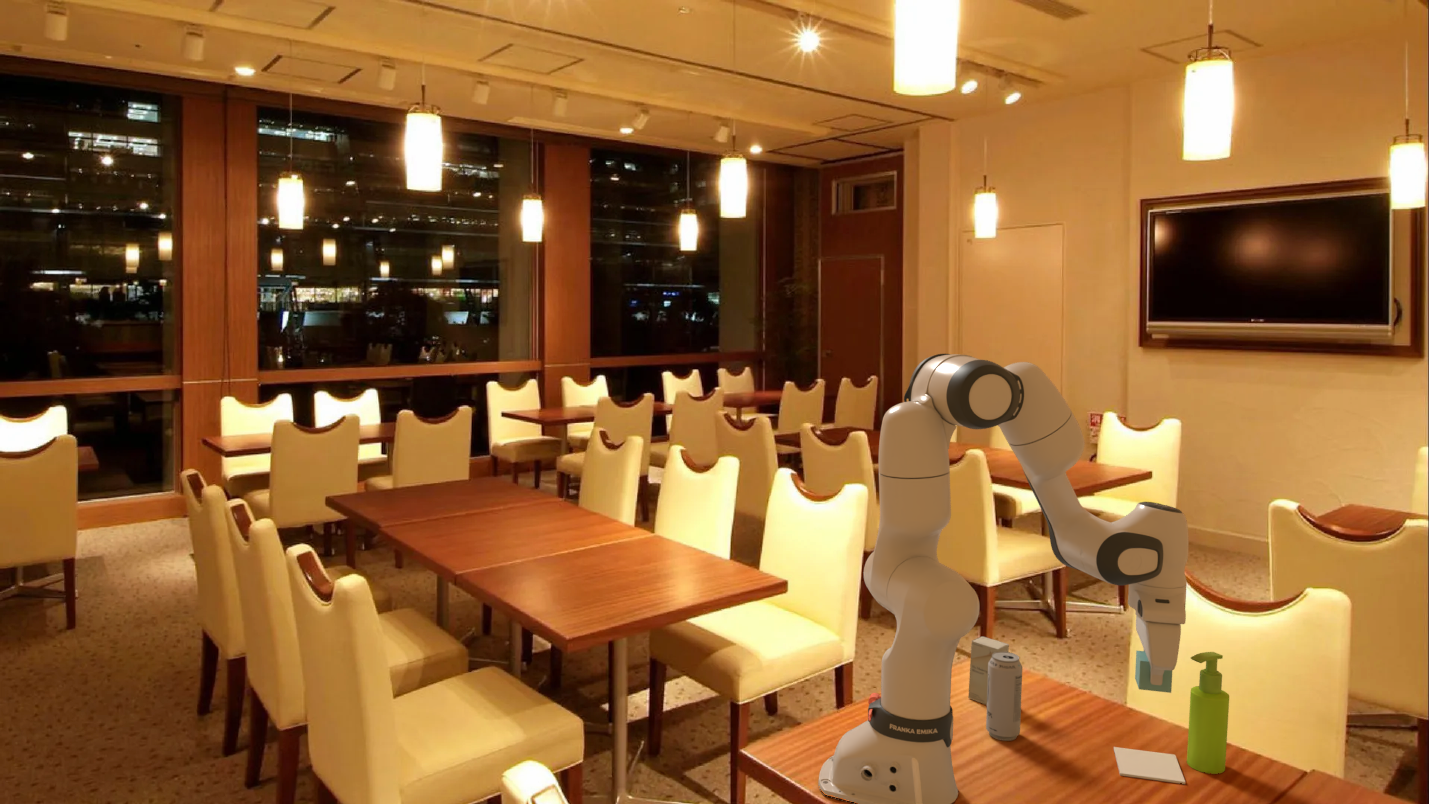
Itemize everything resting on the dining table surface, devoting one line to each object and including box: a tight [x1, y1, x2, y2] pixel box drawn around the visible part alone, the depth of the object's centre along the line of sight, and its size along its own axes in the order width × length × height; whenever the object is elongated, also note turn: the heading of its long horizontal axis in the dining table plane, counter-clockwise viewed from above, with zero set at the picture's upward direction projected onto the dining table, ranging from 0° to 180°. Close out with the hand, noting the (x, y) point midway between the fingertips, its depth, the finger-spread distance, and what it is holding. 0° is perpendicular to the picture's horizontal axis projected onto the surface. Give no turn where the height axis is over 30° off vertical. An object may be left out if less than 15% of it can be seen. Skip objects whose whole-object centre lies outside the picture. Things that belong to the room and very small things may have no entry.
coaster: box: [1113, 746, 1186, 785], centre depth 163 cm, size 10×10×1 cm
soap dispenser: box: [1186, 651, 1230, 775], centre depth 162 cm, size 6×7×20 cm
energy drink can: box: [985, 651, 1023, 742], centre depth 174 cm, size 6×6×15 cm
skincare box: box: [967, 635, 1010, 706], centre depth 189 cm, size 6×4×12 cm
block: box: [1134, 650, 1173, 694], centre depth 161 cm, size 5×5×5 cm
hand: (1152, 676), depth 161 cm, fingers closed on block, 5 cm apart
